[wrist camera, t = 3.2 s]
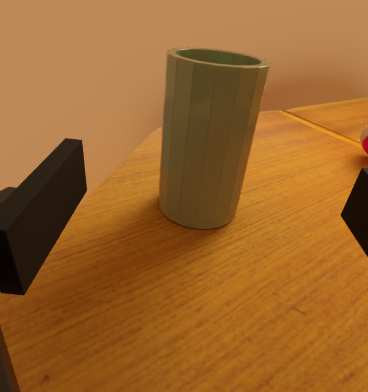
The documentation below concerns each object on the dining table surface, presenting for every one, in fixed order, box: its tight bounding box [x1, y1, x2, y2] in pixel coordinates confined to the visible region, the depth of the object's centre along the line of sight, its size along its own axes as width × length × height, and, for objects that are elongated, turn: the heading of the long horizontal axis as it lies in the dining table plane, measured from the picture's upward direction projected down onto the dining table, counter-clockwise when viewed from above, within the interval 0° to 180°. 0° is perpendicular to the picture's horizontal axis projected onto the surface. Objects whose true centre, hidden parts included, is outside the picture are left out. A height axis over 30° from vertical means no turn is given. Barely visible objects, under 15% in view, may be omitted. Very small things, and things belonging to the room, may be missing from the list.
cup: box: [158, 47, 271, 229], centre depth 23 cm, size 7×7×12 cm
